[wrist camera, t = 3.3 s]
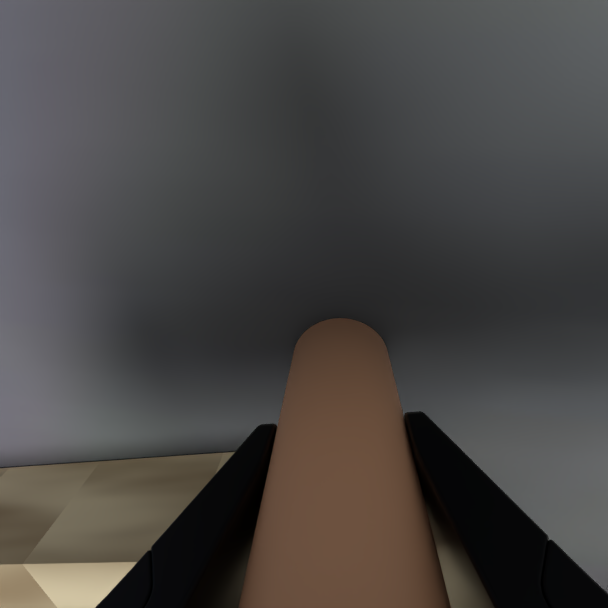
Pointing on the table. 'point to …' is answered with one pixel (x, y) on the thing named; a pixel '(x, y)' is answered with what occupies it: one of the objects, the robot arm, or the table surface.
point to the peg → (342, 487)
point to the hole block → (88, 523)
